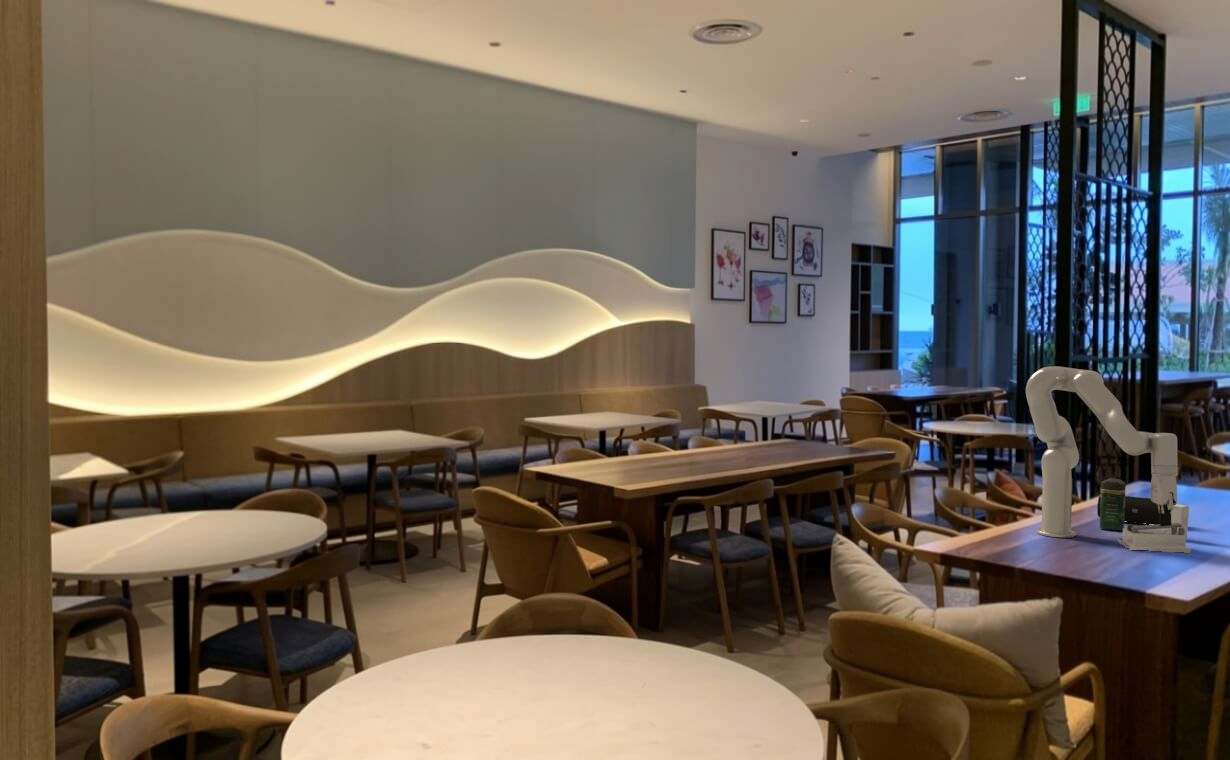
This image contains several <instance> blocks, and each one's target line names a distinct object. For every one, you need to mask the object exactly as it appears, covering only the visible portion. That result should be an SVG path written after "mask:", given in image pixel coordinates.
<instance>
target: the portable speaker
mask: <svg viewBox="0 0 1230 760" xmlns="http://www.w3.org/2000/svg"><path fill="white" fill-rule="evenodd" d="M1100 503H1101V495H1100V496H1098V499H1097V507H1096V508H1097V509H1096V510H1097V511H1096V512H1097V516H1098V518H1100ZM1124 521H1127V522H1136V523H1146V524H1154V525H1155V524H1159V512H1158V505H1157V504H1156V503H1154V502H1152V501H1151V497H1141V496H1140V497H1139V496H1130V495H1129V496H1128V495H1125V516H1124ZM1127 522H1126V523H1127ZM1136 523H1135V524H1136Z"/></svg>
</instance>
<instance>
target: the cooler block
mask: <svg viewBox="0 0 1230 760" xmlns="http://www.w3.org/2000/svg"><path fill="white" fill-rule="evenodd" d="M1129 526H1134V525H1133V524H1129V523H1127V524H1126V527H1124V528H1123V530H1122V538H1117V543H1118V542H1119V543H1121V544H1122V545H1124V546H1126V547H1127V548H1129V549H1130V550H1153V551H1162V552H1161V553H1174V552H1184V553H1183V554H1191V552H1192V549H1191V547H1188V546H1187V545H1186V543H1187V540H1186V535H1184V528H1179V529H1178V531H1177V527H1176V528H1171V530H1167V529H1164V528H1162V529H1148V530H1139V528H1137V527H1132V530H1131V529H1130V528H1129ZM1119 543H1118V544H1119ZM1121 544H1120V545H1121ZM1122 545H1121V546H1122ZM1124 546H1123V547H1124ZM1126 547H1125V548H1126ZM1127 548H1126V549H1127ZM1129 549H1128V550H1129ZM1130 550H1129V551H1130Z"/></svg>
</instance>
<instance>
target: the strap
mask: <svg viewBox="0 0 1230 760" xmlns="http://www.w3.org/2000/svg"><path fill="white" fill-rule="evenodd" d="M1132 527H1137V528H1139V530H1148V529H1164V528H1176V527H1182V525H1181V524H1179V523H1171V525H1169V526H1162V525H1159V524H1155V525H1145V524H1140V525H1133V526H1129V528H1130V529H1131V530H1132Z"/></svg>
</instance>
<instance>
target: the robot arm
mask: <svg viewBox="0 0 1230 760" xmlns="http://www.w3.org/2000/svg"><path fill="white" fill-rule="evenodd" d="M1056 390H1057V391H1066V392H1072V393H1075V394H1077V395H1078V397H1079V398H1080V399H1081V400H1082V401H1083V402H1084V404H1085V405H1086V406H1087V407H1088V409H1090V411H1092V413H1093V414H1094V415H1095V416H1096V418H1097V419H1098V421H1099V422H1100V424H1101V425H1102V427H1103V428H1104V429H1105V432H1107V434H1108V435H1109V437H1111V439H1112V440H1113V441H1114V442H1115V443H1116V445H1117V446H1118V447H1119V448H1121V450H1122V451H1123V452H1124V453H1126V454H1128V455H1129V456H1141V455H1144V454H1146V453H1147V454H1149V453H1150V459H1151V460H1150V461H1151V462H1150V464H1151V466H1150V469H1151V480H1150V481H1151V483H1150V498H1151V501H1152V502H1154V503H1156V504H1157V505H1158V512H1159V525H1162V526H1169V525H1171V513H1172V510H1173V509H1174V507H1173V505H1176V504H1178V485H1177V478H1176V476H1178V475H1179V474H1178V472H1179V471H1178V465H1179V463H1178V437H1177V435H1176V434H1175V433H1172V432H1170V433H1169V432H1154V433H1153V432H1148V431H1139V430H1137V429H1136V428H1135V427H1134V426H1133V425H1132V423H1130V421H1129V420H1128V419H1127V417H1126V414H1124V411H1123V406H1122V404H1121V402H1120V401H1119V399H1117V398H1116V397H1115V395H1114V394H1113V393H1112V392H1111V391H1110V390H1109V389H1108V387H1106V386H1105V383H1104V378H1103V377H1102V375H1101V374H1100V373H1099V372H1098V371H1094V370H1088V369H1079V368H1072V367H1065V366H1056V365H1055V366H1054V365H1053V366H1045V367H1042V368H1039V369H1038V370H1037V371H1035V372H1034V373H1033V374H1031V376H1030V377H1029V378H1028V380H1027V383H1026V387H1025V395H1026V400H1027V404H1028V407H1029V411H1030V415H1031V418H1032V422H1033V425H1034V430H1035V433H1036V436H1037V437H1038V439H1039V440H1040V441H1041V442H1043V443H1046V445H1047V449H1046V450H1044V453H1043V454H1042V457H1041V465H1040V466H1041V473H1042V475H1041V476H1042V478H1041V479H1042V488H1041V489H1042V495H1041V497H1042V498H1041V527H1039V528H1037V529H1036V533H1037V534H1039V535H1041V536H1045V537H1051V538H1065V539H1066V538H1074V536H1075V537H1076V535H1077V532H1076V531H1074V530H1072V507H1073V478H1072V476H1073V475H1072V469H1074V468H1075V467H1076V466H1077V465H1078V463H1079V460H1080V454H1079V450H1078V446H1077V443H1076V440H1075V437H1074V433H1073V429H1072V427H1071V424H1070V423H1069V421H1067V419H1066V418H1065V417H1063V416H1062V415H1060V414H1059V413H1058V410H1057V406H1056V403H1055V401H1054V398H1053V395H1052V392H1053V391H1056Z"/></svg>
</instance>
